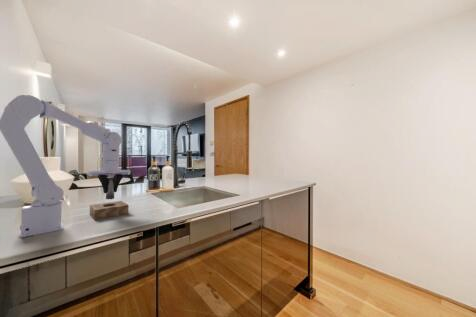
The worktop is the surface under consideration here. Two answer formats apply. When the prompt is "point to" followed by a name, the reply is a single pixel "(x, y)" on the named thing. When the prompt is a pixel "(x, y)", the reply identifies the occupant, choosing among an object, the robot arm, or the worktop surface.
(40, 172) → the robot arm
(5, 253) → the worktop surface
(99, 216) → the hole block
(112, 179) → the peg
